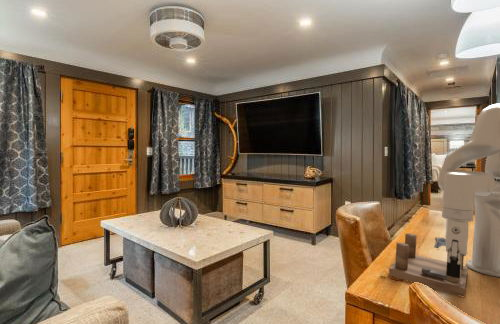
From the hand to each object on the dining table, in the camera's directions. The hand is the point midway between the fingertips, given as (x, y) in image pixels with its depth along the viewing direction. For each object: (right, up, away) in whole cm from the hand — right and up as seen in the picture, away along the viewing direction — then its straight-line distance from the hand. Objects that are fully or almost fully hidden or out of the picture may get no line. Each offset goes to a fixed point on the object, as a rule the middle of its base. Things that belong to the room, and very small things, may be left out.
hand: (453, 272), depth 85 cm
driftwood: (+24, -4, +41) cm, 48 cm away
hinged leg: (-3, -2, +2) cm, 4 cm away
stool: (-1, -5, +10) cm, 11 cm away
